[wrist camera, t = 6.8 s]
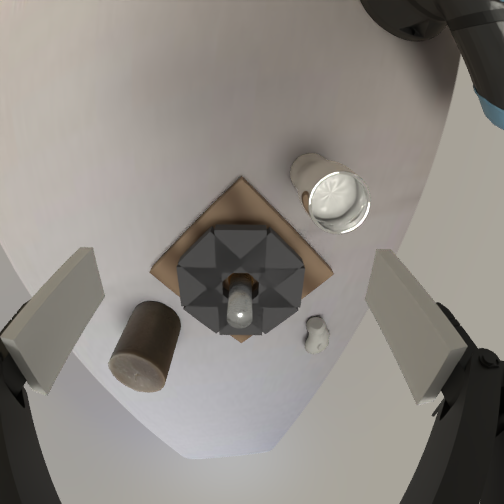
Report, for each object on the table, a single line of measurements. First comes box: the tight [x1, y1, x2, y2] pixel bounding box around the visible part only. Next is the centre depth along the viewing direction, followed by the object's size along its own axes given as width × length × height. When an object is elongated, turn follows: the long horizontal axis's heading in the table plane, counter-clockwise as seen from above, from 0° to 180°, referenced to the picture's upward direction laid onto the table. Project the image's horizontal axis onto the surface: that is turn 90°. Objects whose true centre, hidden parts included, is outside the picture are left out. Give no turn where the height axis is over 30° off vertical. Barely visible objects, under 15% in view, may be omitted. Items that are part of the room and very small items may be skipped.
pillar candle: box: [108, 301, 181, 392], centre depth 46 cm, size 10×10×15 cm
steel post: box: [227, 273, 254, 328], centre depth 41 cm, size 4×4×11 cm
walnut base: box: [150, 176, 334, 343], centre depth 47 cm, size 21×21×2 cm
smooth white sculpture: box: [305, 317, 330, 354], centre depth 53 cm, size 4×8×5 cm
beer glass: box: [290, 153, 371, 234], centre depth 34 cm, size 7×7×15 cm
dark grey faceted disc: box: [176, 224, 305, 335], centre depth 43 cm, size 18×18×2 cm
